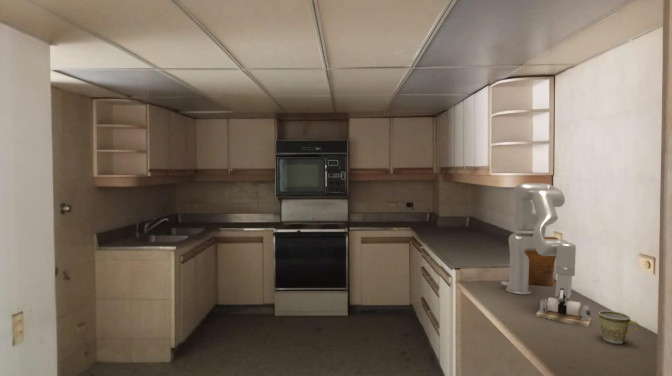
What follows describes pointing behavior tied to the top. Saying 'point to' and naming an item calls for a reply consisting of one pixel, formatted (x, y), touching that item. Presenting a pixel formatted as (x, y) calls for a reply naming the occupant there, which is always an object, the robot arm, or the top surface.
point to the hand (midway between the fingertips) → (563, 311)
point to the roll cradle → (581, 320)
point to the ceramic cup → (615, 326)
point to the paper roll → (572, 306)
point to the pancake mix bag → (541, 268)
